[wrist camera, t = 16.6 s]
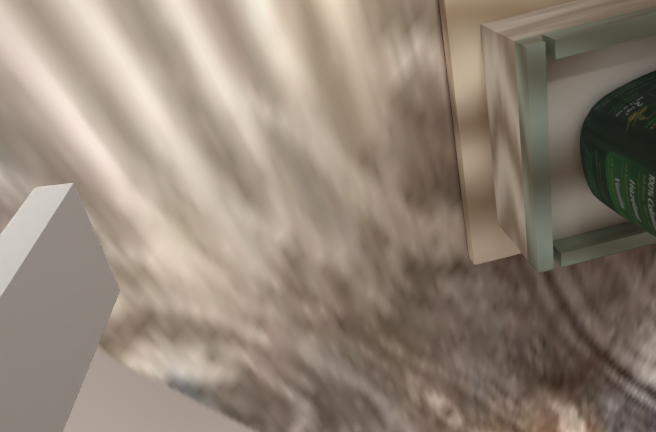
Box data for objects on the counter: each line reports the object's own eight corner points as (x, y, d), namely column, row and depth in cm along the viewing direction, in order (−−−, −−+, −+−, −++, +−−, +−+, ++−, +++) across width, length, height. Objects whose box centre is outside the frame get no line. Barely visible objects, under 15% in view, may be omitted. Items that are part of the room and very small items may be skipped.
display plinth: (436, -23, 36) (482, -6, 29) (760, -103, 36) (881, -104, 29) (468, 256, 45) (509, 319, 38) (725, 191, 45) (810, 242, 39)
